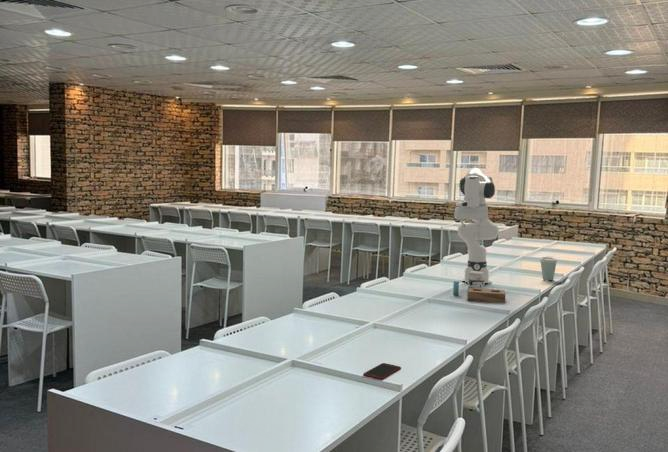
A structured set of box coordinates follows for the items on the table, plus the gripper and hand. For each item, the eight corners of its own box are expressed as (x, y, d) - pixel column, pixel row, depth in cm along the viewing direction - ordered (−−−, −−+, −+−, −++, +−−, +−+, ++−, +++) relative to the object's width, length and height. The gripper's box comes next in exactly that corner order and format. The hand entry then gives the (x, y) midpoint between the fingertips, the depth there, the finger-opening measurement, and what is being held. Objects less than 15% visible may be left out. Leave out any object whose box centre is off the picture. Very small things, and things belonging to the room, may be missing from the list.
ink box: (467, 291, 342) (468, 271, 340) (469, 289, 346) (470, 270, 345) (481, 292, 338) (482, 273, 336) (483, 291, 342) (484, 271, 341)
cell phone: (362, 376, 196) (362, 374, 196) (383, 365, 208) (383, 362, 208) (381, 381, 192) (381, 378, 192) (401, 369, 204) (402, 366, 204)
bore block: (468, 296, 327) (468, 287, 327) (504, 298, 322) (504, 289, 322) (467, 300, 316) (467, 291, 315) (505, 303, 311) (505, 294, 310)
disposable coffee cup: (559, 281, 378) (560, 258, 377) (546, 282, 374) (548, 259, 373) (548, 278, 388) (549, 256, 387) (535, 279, 384) (536, 257, 383)
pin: (453, 294, 332) (453, 280, 331) (458, 294, 331) (458, 281, 330) (453, 295, 329) (453, 281, 328) (458, 295, 328) (458, 282, 328)
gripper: (485, 203, 338) (484, 226, 339) (453, 203, 333) (452, 226, 334) (490, 203, 332) (489, 227, 333) (457, 203, 327) (457, 227, 328)
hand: (470, 227), depth 333 cm, fingers open, 8 cm apart
